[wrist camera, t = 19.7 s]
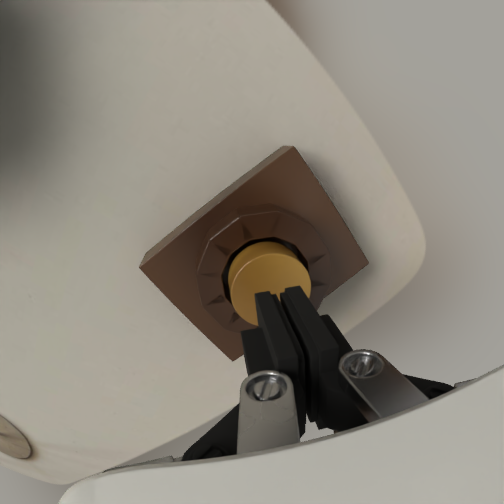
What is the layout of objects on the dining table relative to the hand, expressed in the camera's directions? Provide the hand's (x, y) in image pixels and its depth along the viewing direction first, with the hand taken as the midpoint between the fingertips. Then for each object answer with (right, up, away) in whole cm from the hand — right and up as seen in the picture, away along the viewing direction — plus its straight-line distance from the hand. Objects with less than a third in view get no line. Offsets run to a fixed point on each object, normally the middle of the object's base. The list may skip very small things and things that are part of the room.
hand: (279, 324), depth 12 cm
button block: (-1, +3, +7) cm, 8 cm away
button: (0, +2, +4) cm, 4 cm away
